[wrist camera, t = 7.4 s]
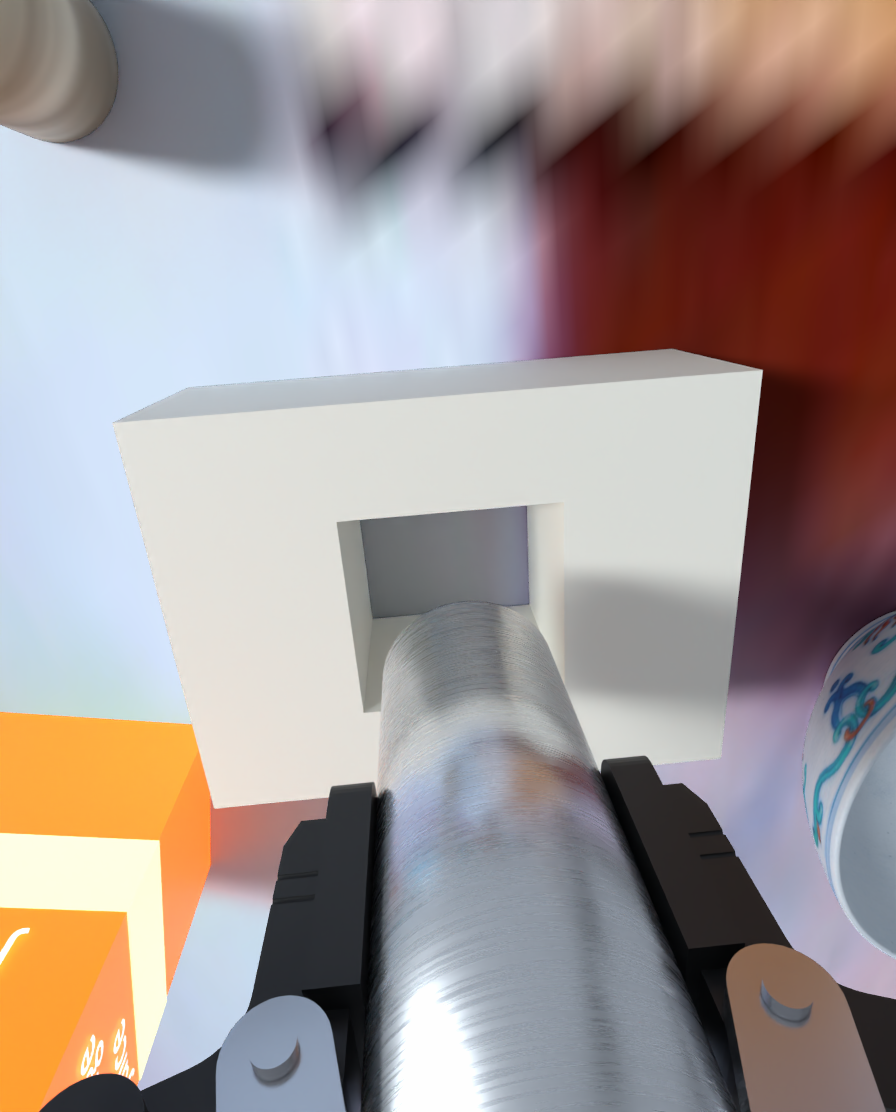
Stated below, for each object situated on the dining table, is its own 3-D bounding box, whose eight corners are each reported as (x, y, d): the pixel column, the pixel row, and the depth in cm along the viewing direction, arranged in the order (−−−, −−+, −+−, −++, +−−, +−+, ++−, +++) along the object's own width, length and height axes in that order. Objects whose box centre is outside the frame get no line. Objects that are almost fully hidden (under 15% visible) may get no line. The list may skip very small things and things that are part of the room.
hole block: (672, 348, 22) (762, 370, 16) (654, 660, 27) (720, 758, 21) (187, 387, 22) (112, 423, 16) (254, 697, 26) (214, 808, 21)
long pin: (553, 593, 15) (806, 1111, 5) (554, 740, 16) (755, 1339, 7) (373, 609, 15) (322, 1169, 5) (391, 755, 16) (377, 1388, 7)
